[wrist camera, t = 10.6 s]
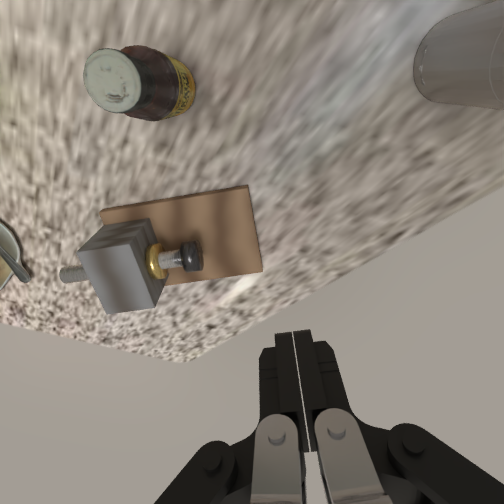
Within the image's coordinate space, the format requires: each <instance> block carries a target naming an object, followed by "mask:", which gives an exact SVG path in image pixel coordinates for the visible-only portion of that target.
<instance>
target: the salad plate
mask: <svg viewBox="0 0 504 504" xmlns="http://www.w3.org/2000/svg"><path fill="white" fill-rule="evenodd" d="M20 259H21V257H20V248H19V245H18V243H17V241H16V239H15V236H14V234H13V233H12V231H11V230H9V229H8V228H7V227H6V226H5V225H4V224H3V223H1V222H0V290H1V289H2V288H3V287H4V285H5V284H6V283H7V282H8V281H9V279H10V277H11V276H12V275H13V274H15V275H16V276H17V277H18V279H19V280H20V281H22V282H24V283H27V282H29V281H30V280H31V277H30V275H29V274H28V272H27V271H26V270H25V269H24V267H23V266H22V263H21V260H20Z"/></svg>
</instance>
